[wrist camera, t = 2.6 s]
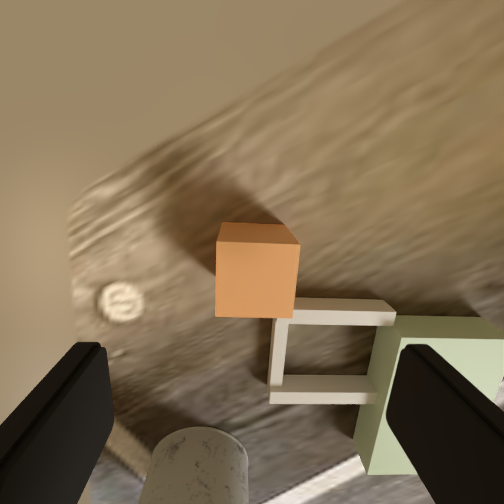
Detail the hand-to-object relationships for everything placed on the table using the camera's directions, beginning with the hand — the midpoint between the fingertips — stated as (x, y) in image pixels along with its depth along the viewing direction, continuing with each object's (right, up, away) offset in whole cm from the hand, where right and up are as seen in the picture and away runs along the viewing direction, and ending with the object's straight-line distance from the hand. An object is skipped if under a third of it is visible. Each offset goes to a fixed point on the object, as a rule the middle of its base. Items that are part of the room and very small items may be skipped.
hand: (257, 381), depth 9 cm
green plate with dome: (+10, -7, +16) cm, 20 cm away
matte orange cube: (0, +4, +12) cm, 13 cm away
